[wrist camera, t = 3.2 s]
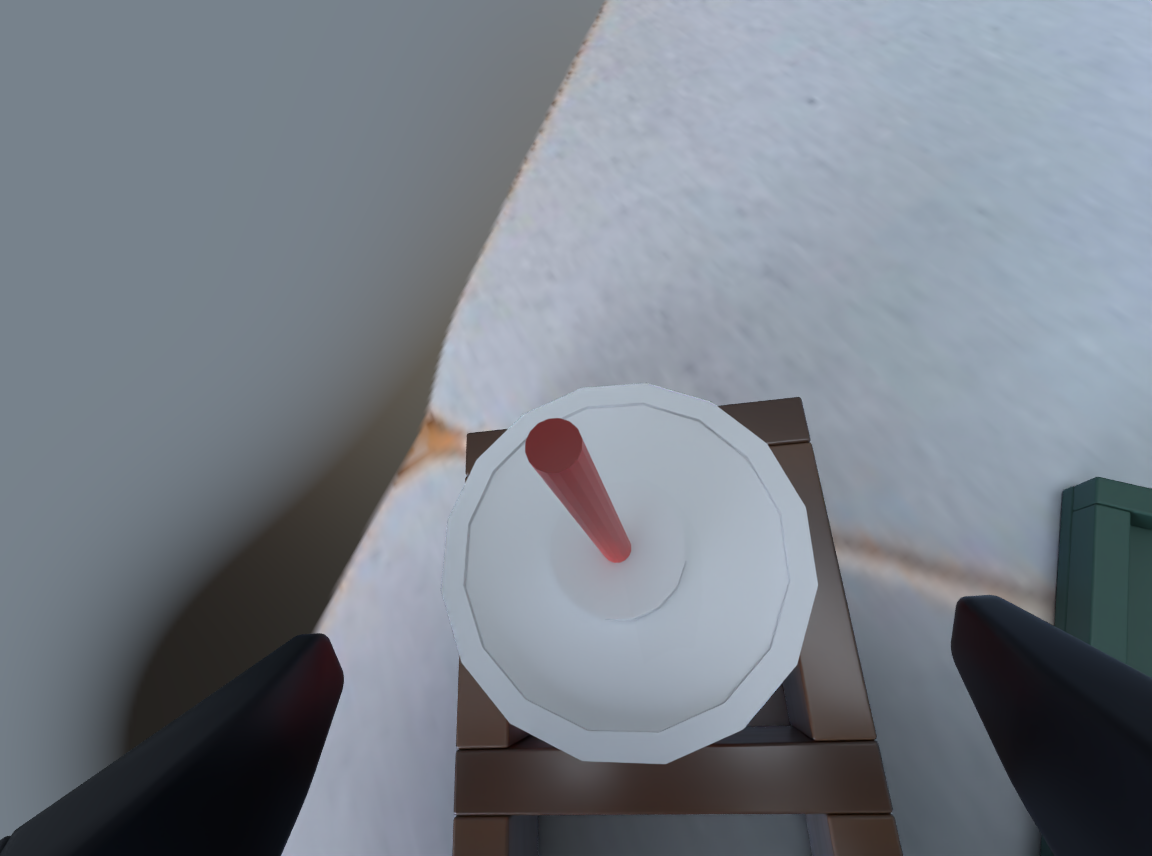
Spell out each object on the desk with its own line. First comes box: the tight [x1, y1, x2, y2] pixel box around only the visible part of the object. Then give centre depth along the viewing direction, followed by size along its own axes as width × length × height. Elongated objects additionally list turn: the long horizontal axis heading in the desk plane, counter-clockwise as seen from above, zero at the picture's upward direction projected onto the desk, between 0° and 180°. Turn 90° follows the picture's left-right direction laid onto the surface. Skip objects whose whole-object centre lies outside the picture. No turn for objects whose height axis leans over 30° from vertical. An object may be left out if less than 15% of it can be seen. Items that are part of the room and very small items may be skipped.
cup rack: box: [452, 397, 903, 856], centre depth 14 cm, size 19×10×3 cm, turn 3°
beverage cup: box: [441, 383, 818, 764], centre depth 11 cm, size 6×6×14 cm
